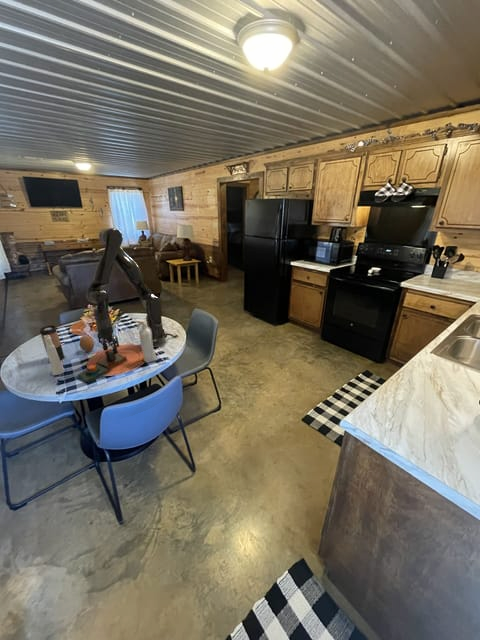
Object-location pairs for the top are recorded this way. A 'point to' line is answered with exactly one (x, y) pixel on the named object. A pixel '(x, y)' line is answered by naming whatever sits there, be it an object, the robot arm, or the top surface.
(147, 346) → the fire extinguisher
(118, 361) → the panel
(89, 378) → the housing
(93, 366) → the button
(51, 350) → the cosmetic bottle
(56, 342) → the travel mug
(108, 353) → the knob
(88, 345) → the egg
